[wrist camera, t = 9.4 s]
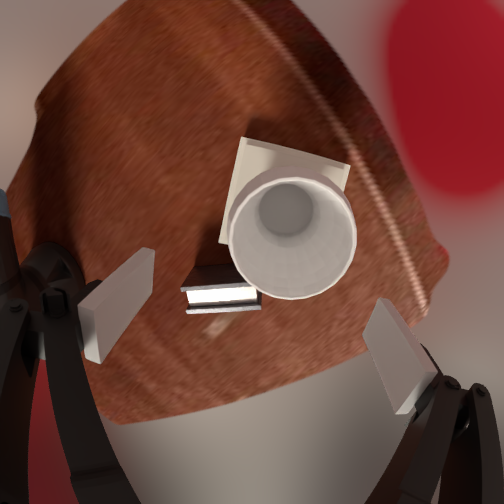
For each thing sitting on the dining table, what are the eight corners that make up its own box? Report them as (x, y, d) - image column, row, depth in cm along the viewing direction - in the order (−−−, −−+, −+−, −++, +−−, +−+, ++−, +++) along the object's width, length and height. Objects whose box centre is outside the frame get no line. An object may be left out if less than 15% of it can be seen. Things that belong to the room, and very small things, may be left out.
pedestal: (222, 235, 41) (217, 244, 37) (243, 138, 36) (240, 136, 32) (317, 258, 41) (321, 269, 37) (344, 164, 36) (352, 165, 32)
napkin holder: (198, 290, 44) (187, 313, 37) (193, 266, 43) (180, 287, 36) (262, 285, 43) (260, 309, 36) (259, 260, 42) (257, 281, 35)
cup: (270, 145, 32) (269, 139, 18) (343, 192, 34) (390, 221, 19) (226, 218, 36) (196, 263, 22) (297, 260, 37) (311, 326, 23)
